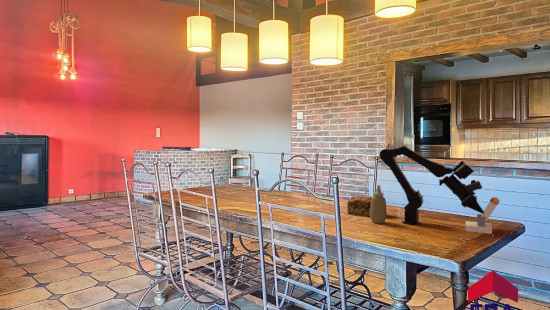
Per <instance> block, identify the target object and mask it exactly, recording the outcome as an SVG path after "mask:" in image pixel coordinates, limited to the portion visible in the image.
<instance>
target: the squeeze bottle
mask: <svg viewBox="0 0 550 310" xmlns="http://www.w3.org/2000/svg"><path fill="white" fill-rule="evenodd" d="M371 197H372V198H371V207H370V216H369V218H370V220H371V222H372V223H375V224H383V223H385V221H386V219H387V216H388V213H387V202H386V198H385V197H384V193H383V192H382V190H381V185H377V186H376V190H375V191H374V192H373V196H371Z"/></svg>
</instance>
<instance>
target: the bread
mask: <svg viewBox="0 0 550 310" xmlns="http://www.w3.org/2000/svg"><path fill="white" fill-rule="evenodd" d="M372 197H373V196H358V195H357V196H352V197H350V198H349V199H347V203H346V208H347V215H350V214H351V215H352V214H356V215H355V216H359V215H364V216H363V217H370V207H371V198H372Z"/></svg>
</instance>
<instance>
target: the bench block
mask: <svg viewBox="0 0 550 310" xmlns="http://www.w3.org/2000/svg"><path fill="white" fill-rule="evenodd" d="M481 214H482V213H481ZM481 214H480V213H478V214H476V221H467V220H465V232H469V233H479V234H489V235H490V234H491V235H492V234H493V225H492V223H490V222H489V223H488V222H486V223H485V217H480V216H481Z"/></svg>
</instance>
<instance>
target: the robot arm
mask: <svg viewBox="0 0 550 310" xmlns="http://www.w3.org/2000/svg"><path fill="white" fill-rule="evenodd" d="M378 156H379V158H380V160H381V161H382V162H383V163H384V164H385V165H386V166H387V167H388V168H389V169H390V170H391V172H392V174H393V175H394V177H395V178H396V180H397V182H398V184H399V185H400V186H401V188H402V190H403V192H404V193H405V196H406V199H407V203H406V205H405V206H404V221H403V220H402V221H401V223H402V224H407V225H409V226H415V225H421V224H422V222H420V221H419V220H420V219H419V218H420V214H419V212H420V211H419V210H420V208H421V207H423V204H424V199H423V198H424V196H423V195H422V194H421V191H420V190H419V189H418V190H415V189H414V188H413V186H412V184H411V182H409V180H408V178H407V177H406V175H405V174H404V172H403V170H402V169H401V167H400V165H399V164H398V162H397V158H396V157H397V156H405V157H407V158H408V159H410V160H412V161H413V162H415V163H417V164H418V165H420V166H423V167H424V168H425V169H426V170H427V171H428V172H430V173H431V174H432V175H433V176H434V177H437V178H440V179H438V182H439V184H438V185H439V186H442V185H443V184H444V185H445V186H446V187H447V188H448V189H449V190H450V191H451V192H452V194H453V195H455V196H456V197H457V198H458V199H459V201H460V202H461V203H460V204H461V206H462V207H463V208H464V209H465V208H469V209H471V210H473V211H475V212H477V213H479V214H480V213H481V214H482V213H484V210H483V208H482V207H481V205H480V204H479V202H478V197H477V196H478V195H476V192H475V191H477V190H481V189H483V186H482V184H481V181H480V180H477V181H476V180H475V179H472V180H470V183H469V184H465V183H463V182H462V181H461V180H465V179H467V178H468V177H469V176H470V175H472V174H473V173H474V172H475V170H474V169H473V168H472V167H471V166H470V165H469V164H467V163H466V162H465V161H464V160H461V161H460V162H459V163H458V164H457V165H456V166H455V167H453V168H452V167H447V166H445V165H444V164H442V163H439V162H436V161H433V160H431V159H428V158H426V156H422V155H421V154H419V153H418V152H415V151H414V150H412V149H410V148H409V147H408V146H406V145H404V146H401V147H396V148H393V149H392V148H383V149H381V150H380V151H379V154H378ZM448 175H450V176H448ZM441 178H442V179H441Z"/></svg>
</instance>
